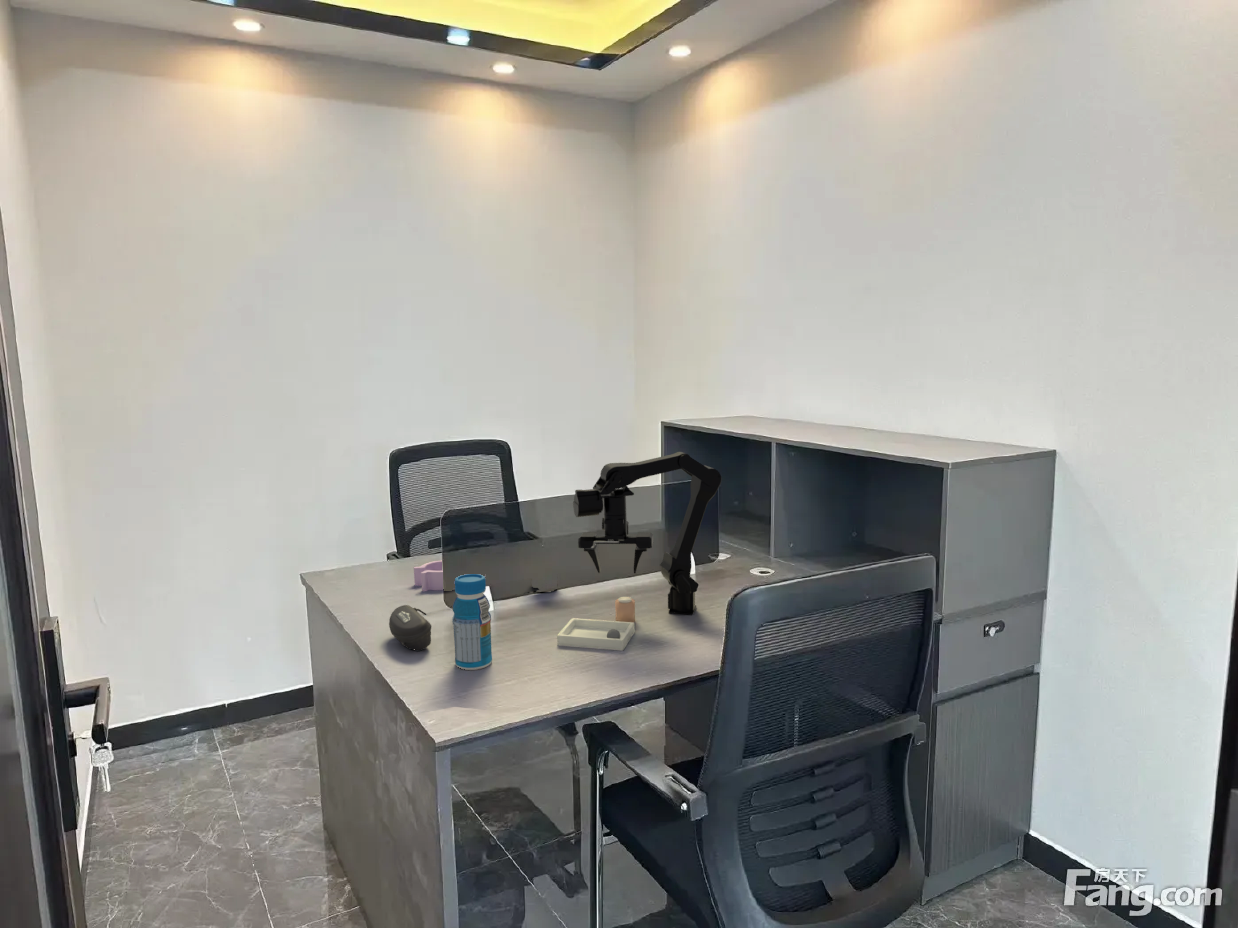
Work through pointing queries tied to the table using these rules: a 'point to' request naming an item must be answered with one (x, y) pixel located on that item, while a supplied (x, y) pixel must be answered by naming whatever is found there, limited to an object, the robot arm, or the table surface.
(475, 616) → the beverage bottle
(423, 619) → the glasses case
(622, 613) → the cylinder
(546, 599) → the table surface
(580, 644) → the tray
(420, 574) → the clip
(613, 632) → the ball
